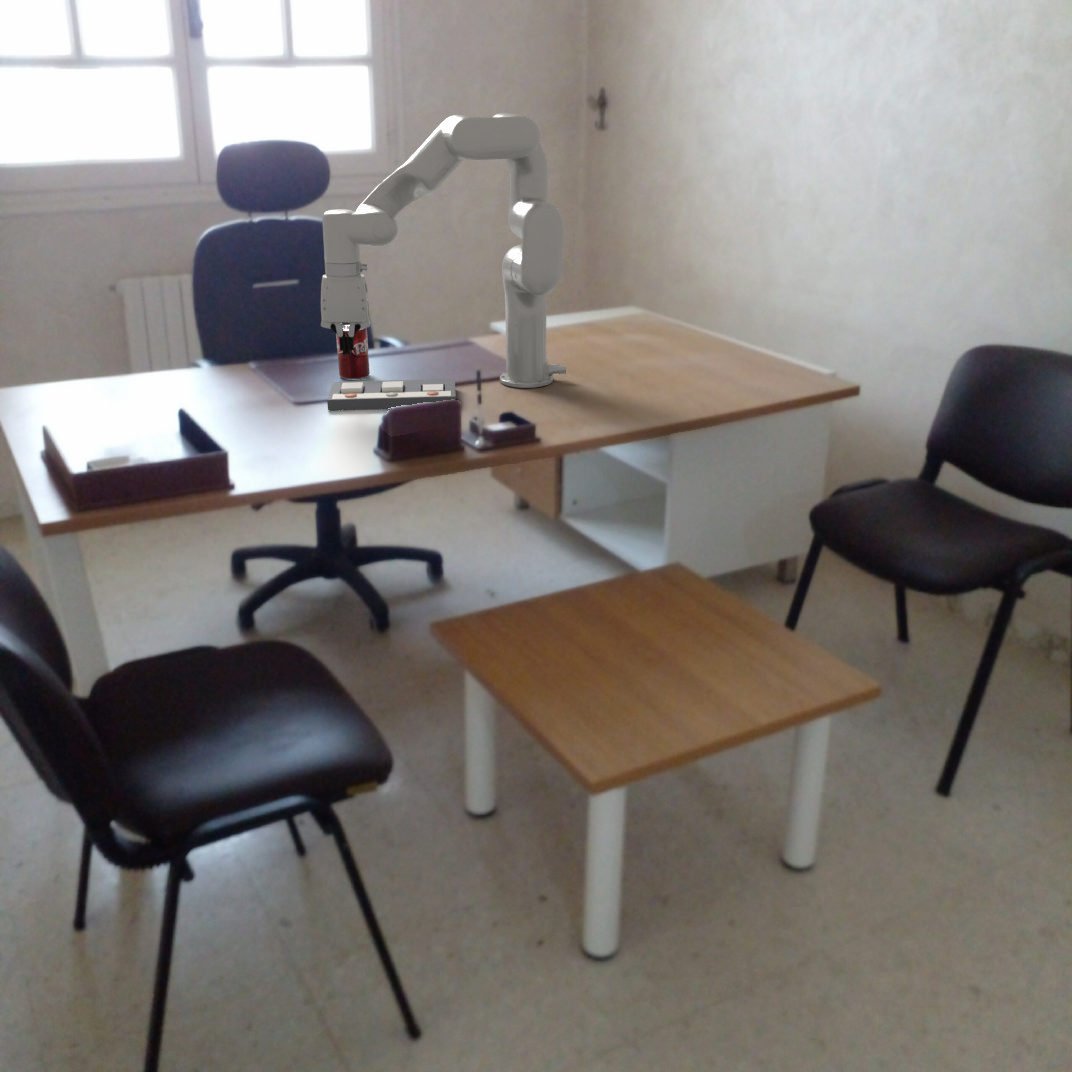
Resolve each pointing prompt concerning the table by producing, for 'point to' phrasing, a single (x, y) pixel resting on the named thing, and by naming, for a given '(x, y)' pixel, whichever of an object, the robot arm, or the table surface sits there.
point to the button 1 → (352, 388)
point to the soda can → (354, 356)
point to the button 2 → (432, 387)
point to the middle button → (392, 386)
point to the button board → (388, 395)
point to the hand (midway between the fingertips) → (347, 353)
